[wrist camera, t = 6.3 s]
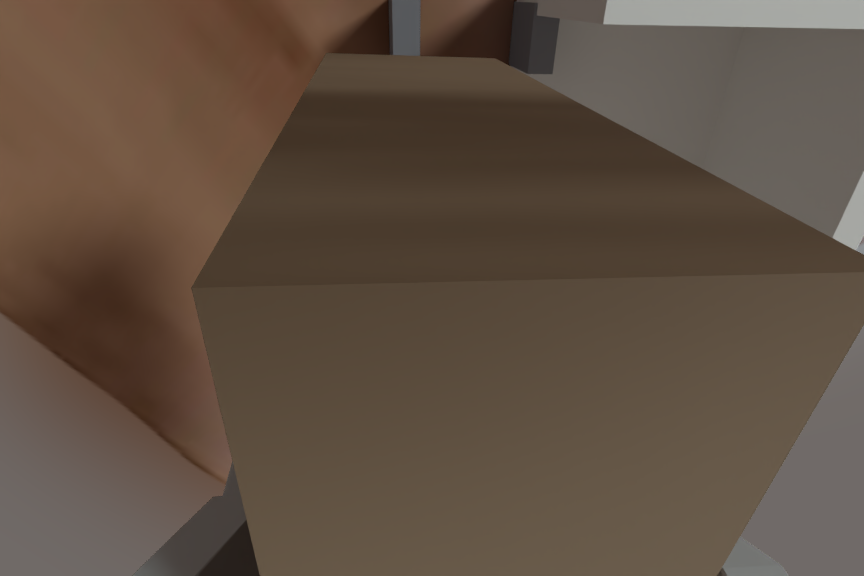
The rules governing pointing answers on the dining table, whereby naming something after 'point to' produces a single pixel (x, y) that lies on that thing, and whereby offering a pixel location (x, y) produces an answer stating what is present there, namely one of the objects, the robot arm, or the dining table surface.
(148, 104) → the dining table surface
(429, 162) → the door
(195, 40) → the dining table surface
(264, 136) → the dining table surface
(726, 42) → the cabinet
